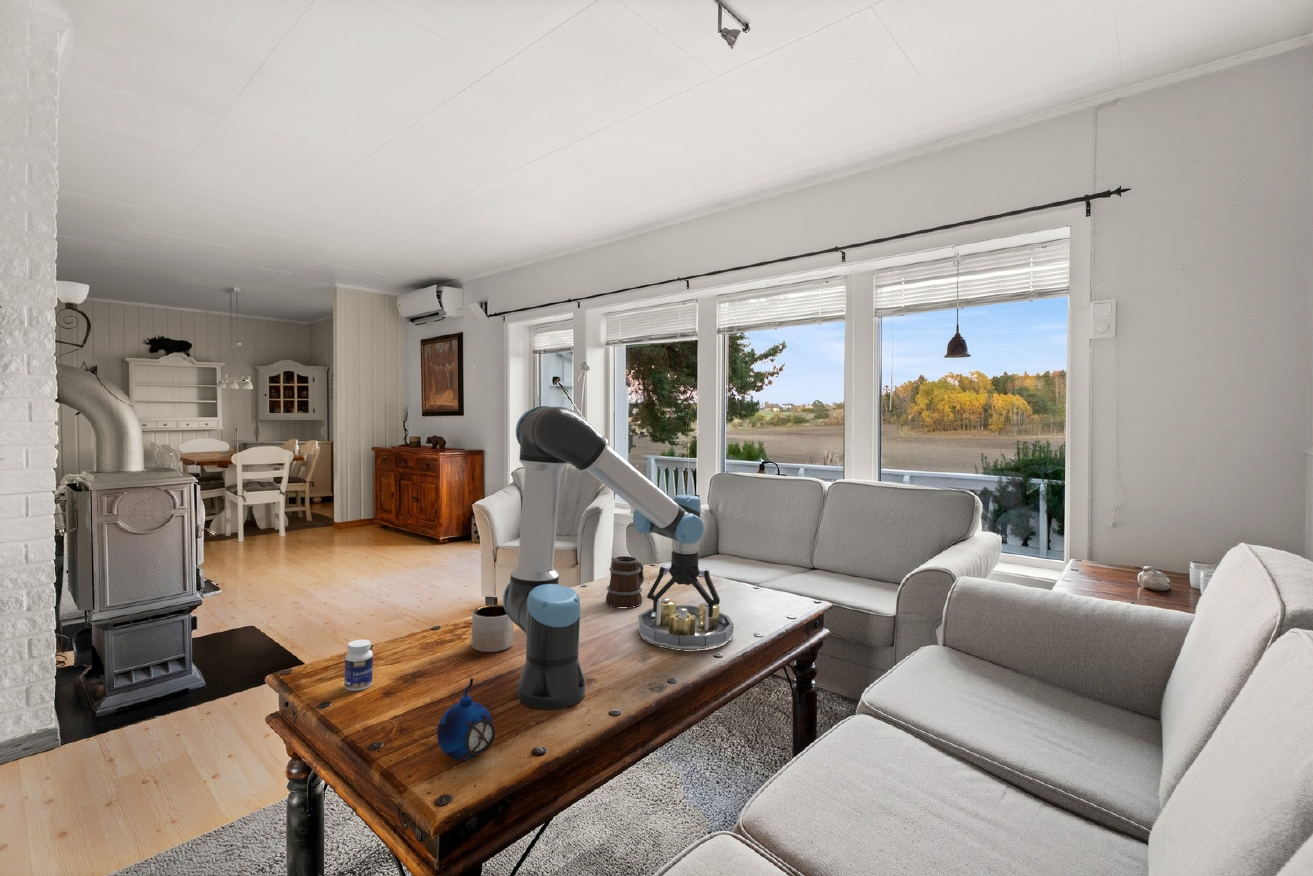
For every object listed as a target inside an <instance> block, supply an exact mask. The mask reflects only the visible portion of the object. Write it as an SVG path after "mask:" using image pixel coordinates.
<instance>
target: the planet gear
mask: <svg viewBox="0 0 1313 876" xmlns="http://www.w3.org/2000/svg"><path fill="white" fill-rule="evenodd" d="M678 616H679V612H677V613H675V614H674V613H671V614H670V616H669V633H670V634H675V635H680V636H695V623H696V616H695V615H691V613H687V618H686V619H681V618H678Z"/></svg>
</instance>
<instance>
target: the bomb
mask: <svg viewBox="0 0 1313 876" xmlns="http://www.w3.org/2000/svg"><path fill="white" fill-rule="evenodd" d="M469 680H470V681H469V684H468V686H466V687H465V690H464V695H462V696H461V698H459V701H458V702H457V703H455V704H453V705H452V706H450V707H449V708H448V709H447V710H446V711H444V713H443V715H442V716H441V717H440V720H439V722H438V724H437V728H436V729H437V730H436V739H437V742H438V745H439V748H440V750H441V751H442V752H443V754H445V755H446V756H447V757H449V758H452V759H453V760H457V761H458V760H459V761H465V760H466V761H467V760H469V759H473V758H475V757H477V756H479V755H481V754H483V753H485V752H486V751H487V750H488V749H489V748H490V747H491V746H492V744H493V743H494V741H495V739H496V732H497V731H496V729H495V726H494V723H493V718H492V715H491V713H490V712H489V710H488V709H487V708H486V706H484V705H483V704H482V703H479V702H478V701H474V700H472V699H473V698H472V696H471V695H468V693H469V689H471V688H472V686H473V684H474V678H473V677H470V679H469Z"/></svg>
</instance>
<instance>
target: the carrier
mask: <svg viewBox="0 0 1313 876" xmlns="http://www.w3.org/2000/svg"><path fill="white" fill-rule="evenodd" d="M660 600H661V621H660V624H659V625H656V619H657V613H656V612H653V607H651V608H648V609H647V610H644V611H643V612H642V613H640V614H639V615H638V620H637V621H638V623H637V625H638V634H639V633H640V635H641V636H642V637H643V638H644V639H645V640H646V641H649V642H651V643H653V644H655V645H657V646H663V647H667V648H674V649H681V650H697V649H705V648H709V647H713V646H719V645H721V644H723V643H725V642H726V641H728V640H729V639H730V637H731V638H732V636H733V634H734V622H733V621H732V619H731V618H730V616H729V615H727V614H724V613H723V612H720V605H719V604H718V605H714V606H713V616H712V617H709V623H708V630H705V613H706V604H707V602H706V601H704V602H703V603H700V604H699V605H698V606H696V605H691V604H689V605H683V604H681V605H680V604H677V602H676V601H675V600H673V599H670V598H669V597H663V598H661V599H660ZM677 612H679V616H678V618H681V619H686V618H687V613H691V615H695V616H696V623H695V636H680V635H675V634H670V633H669V616H670V614H671V613H674V614H675V613H677ZM640 635H639V636H640ZM731 635H732V636H731ZM645 640H644V641H645ZM646 641H645V642H646ZM655 645H654V646H655ZM657 646H656V647H657Z"/></svg>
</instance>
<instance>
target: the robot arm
mask: <svg viewBox="0 0 1313 876" xmlns="http://www.w3.org/2000/svg"><path fill="white" fill-rule="evenodd" d="M515 437H516V440H517V443H518V444H519V445H520V446H519V462H520V463H521V464H522V465H523V467H524V478H523V479H524V480H523V491H522V492H523V493H522V504H521V505H522V507H521V518H520V531H519V545H518V554H517V555H518V558H517V566H516V567H514V569H512V570H511V572H510V579H509V583H508V584H507V585H506V587H505V589H504V591H503V594H502V595H503V596H502V605H503V606H504V609H505V611H506V613H507V615H508V617H509V618H510V620H511V621H513V624H515V625H516V626H517V627H519V629H521V630H522V632H523V633H524V634H526V646H525V647H526V649H525V651H526V653H525V655H526V656H525V663H524V665H523V669H522V671H521V674H520V677H519V680H518V683H517V687H516V688H517V689H516V690H517V691H516V697H517V700H518V701H519V702H520V703H521V704H523V706H524V705H525V706H527V707H530V708H533V709H538V710H539V709H540V710H557V709H558V710H559V709H564V708H567V707H571V706H573V705H575V704H577V703H579V702H580V701H582V700H583V698H584V697H585V696H586V681H585V678H584V674H583V670H582V667H581V663H580V661H579V654H580V653H579V649H580V648H579V647H580V645H579V644H580V622H581V621H580V620H581V613H582V611H581V610H582V608H581V603H580V602H581V601H580V599H581V598H580V596H579V594H578V593H577V591H576V590H575V589H573V588H571V587H569V586H567V585H566V586H565V585H564V586H563V585H562V584H559V583H560V579H559V578H560V573H559V572H558V571H557V570H556V569H555V567H554V562H555V551H556V550H555V549H556V538H557V536H556V535H557V527H558V526H557V524H558V511H559V502H560V501H559V499H560V486H561V472H562V470H563V469H564V468H565V467H566V466H567V465H569V464H570V465H572V466H573V467H575V469H577V470H578V471H580V472H583V471H587V472H588V473H590V474H591V475H592V476H593V477H594V478H596V479H597V480H598V481H599V482H601V483H602V484H603V485H604V486H605V487H607V488H608V489H610V490H611V491H612V492H613V493H614V494H616V495H617V496H618V497H619V498H621V499H622V500H623V501H625V502H626V503H627V504H628V505H630V506H631V507H632V508H634V511H633V515H632V516H633V517H632V522H633V526H634V530H635V531H636V532H637V533H639V534H656V535H659V536H662V537H665V538H667V539H670V540H672V541H671V549H672V551H671V562H670V567H667V566H665V564H664V565H661V566H660V567H659V573H658V576H657V577H656V578H655V579H656V580H654V583H653V584H652V587H651V588H650V589H649V592H648V594H647V596H646V598H647V599H649V600H652V605H653V606H652V608H653V612H656V613H657V619H656V625H659V624H660V621H661V599H660V598H661V597H662V596H663V595H664V594H665V593H666V592H667V591H669V589H670V588H671V587H672V586H673V585H674V584H675V583H676V584H678V585H685V586H690V585H692V586H693V587H694V588H695V589H696V591H697V592H698V593H699V595H700V597H702V599H703V600H704V602H707V604H706V613H705V630H708V623H709V617H712V616H713V606H714V605H719V604H720V601H721V599H720V596H719V595H718V591H717V590H716V587H715V585H714V583H713V581H712V578H711V576H710V569H709V568H705V569H700V568H699V559H700V558H699V556H700V555H699V552H698V551H699V550H700V540H701V538H702V537H703V534H704V531H705V526H704V522H703V520H702V519H701V514H702V511H701V509H702V507H701V499H700V497H698V496H697V495H692V494H677V495H675V496H673V498H671V497H670V496H669V495H667V494H666V493H665V492H663V490H662V489H660V488H659V487H658V486H657V485H655V484H654V483H653V482H652V481H651V480H649V479H648V478H647V477H646V476H645V475H644V474H642V473H641V472H640V471H639V470H638V469H637V468H636V467H634V466H633V465H632V464H631V463H630V462H628V461H627V460H626V459H625V458H624V457H622V456H621V455H620V454H619V453H617V452H616V451H615V450H614V449H613V448H612V447H610V446H609V445H608V439H607V437H606V436H604V435H603V434H602V433H601V432H600V431H598V429H596V428H595V427H594V426H593V425H592V424H590V422H588V421H587V420H586V419H585V418H584V417H582V416H581V415H580V414H578V413H577V412H575V411H574V410H572V409H570V408H567V407H563V406H547V405H539V406H536V407H533V408H530V409H528V410H527V411H524V413H523V414H522V415H521V416H520V417H519V419H518V421H517V423H516V426H515ZM568 463H569V464H568ZM668 573H669V574H670V576H671V578H670V579H669V581H667V583H665V584H664V586H662V588H661V589H660V590H659V591H658V592H657V593H656V594H654V593H655V592H656V590H657V588H658V586H659V584H660V582H661V581H662V579H663V577H664V576H666V575H667V574H668ZM699 576H701V577H702V578H703V579H704V581H705V583H706V586H707V588H708V590H709V592H710V594H711V596H710V594H709V593H708V592H707V590H706V589H705V588H704V587H703V585H702V584H701V583H700V581H699V580H698V577H699Z"/></svg>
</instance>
